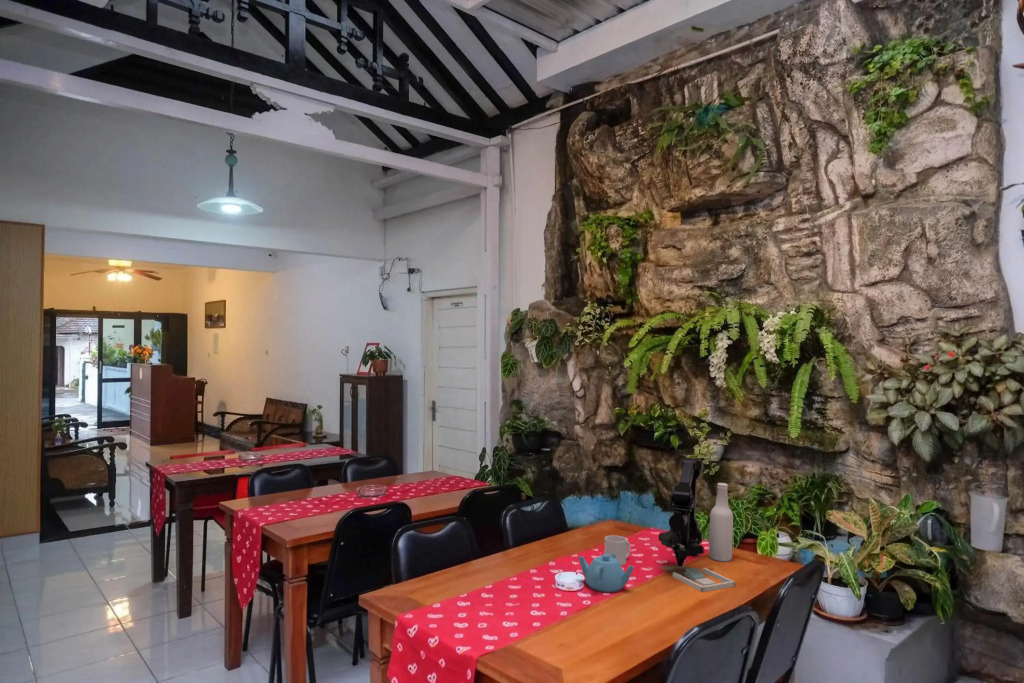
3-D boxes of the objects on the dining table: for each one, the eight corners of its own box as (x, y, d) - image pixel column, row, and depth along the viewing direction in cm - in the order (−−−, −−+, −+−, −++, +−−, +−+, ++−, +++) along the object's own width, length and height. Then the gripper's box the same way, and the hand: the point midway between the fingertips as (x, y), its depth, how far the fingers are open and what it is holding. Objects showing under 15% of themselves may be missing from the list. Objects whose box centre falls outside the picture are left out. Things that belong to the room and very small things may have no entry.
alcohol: (709, 560, 248) (711, 484, 248) (708, 553, 256) (711, 480, 257) (732, 563, 245) (734, 487, 246) (731, 556, 254) (733, 482, 254)
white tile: (694, 586, 220) (695, 579, 220) (706, 584, 222) (706, 577, 222) (704, 591, 215) (704, 584, 215) (715, 589, 217) (715, 582, 217)
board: (658, 570, 233) (659, 566, 233) (681, 567, 238) (681, 563, 238) (678, 581, 223) (678, 577, 223) (702, 577, 228) (702, 573, 228)
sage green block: (684, 574, 225) (686, 569, 225) (695, 573, 227) (697, 567, 226) (692, 584, 221) (694, 578, 220) (703, 582, 223) (705, 577, 222)
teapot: (575, 579, 222) (576, 549, 222) (613, 576, 226) (614, 546, 227) (594, 596, 207) (595, 563, 207) (634, 592, 212) (635, 560, 212)
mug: (622, 559, 245) (623, 532, 246) (637, 565, 239) (638, 538, 239) (599, 564, 239) (600, 537, 239) (614, 570, 232) (615, 543, 232)
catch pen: (672, 581, 223) (672, 572, 224) (704, 575, 230) (704, 567, 230) (702, 596, 210) (702, 587, 210) (735, 590, 216) (735, 581, 217)
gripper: (647, 519, 236) (646, 560, 236) (681, 533, 219) (680, 577, 219) (670, 516, 241) (669, 557, 241) (705, 530, 224) (704, 573, 224)
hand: (679, 566), depth 231 cm, fingers closed
